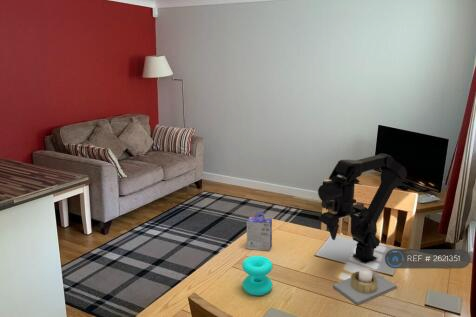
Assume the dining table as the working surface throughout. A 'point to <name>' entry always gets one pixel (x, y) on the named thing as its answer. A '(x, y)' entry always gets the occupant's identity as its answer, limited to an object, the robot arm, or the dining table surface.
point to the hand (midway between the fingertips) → (343, 236)
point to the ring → (363, 284)
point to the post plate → (364, 296)
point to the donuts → (257, 275)
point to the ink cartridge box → (259, 233)
